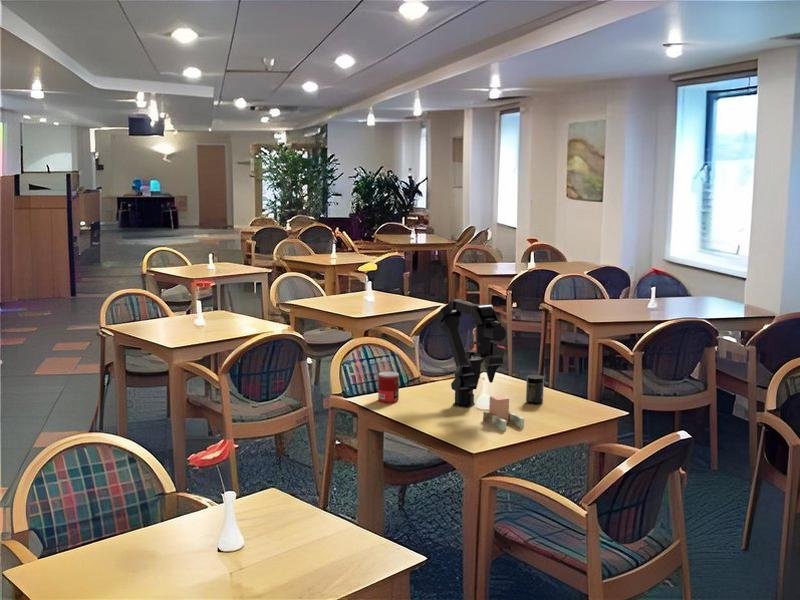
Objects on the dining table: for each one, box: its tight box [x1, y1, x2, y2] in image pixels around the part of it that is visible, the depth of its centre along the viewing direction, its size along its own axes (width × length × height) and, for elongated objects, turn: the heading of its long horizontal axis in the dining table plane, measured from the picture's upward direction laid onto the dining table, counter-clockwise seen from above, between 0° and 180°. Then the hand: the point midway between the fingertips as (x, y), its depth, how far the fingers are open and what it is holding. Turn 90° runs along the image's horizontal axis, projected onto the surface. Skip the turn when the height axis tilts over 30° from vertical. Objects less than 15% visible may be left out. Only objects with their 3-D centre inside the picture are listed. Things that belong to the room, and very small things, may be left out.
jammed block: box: [488, 394, 510, 424], centre depth 303 cm, size 5×5×9 cm
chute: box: [482, 410, 525, 432], centre depth 301 cm, size 13×9×4 cm
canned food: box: [377, 370, 400, 404], centre depth 329 cm, size 8×8×11 cm
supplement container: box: [525, 374, 545, 406], centre depth 329 cm, size 7×7×10 cm
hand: (484, 380), depth 311 cm, fingers open, 9 cm apart
